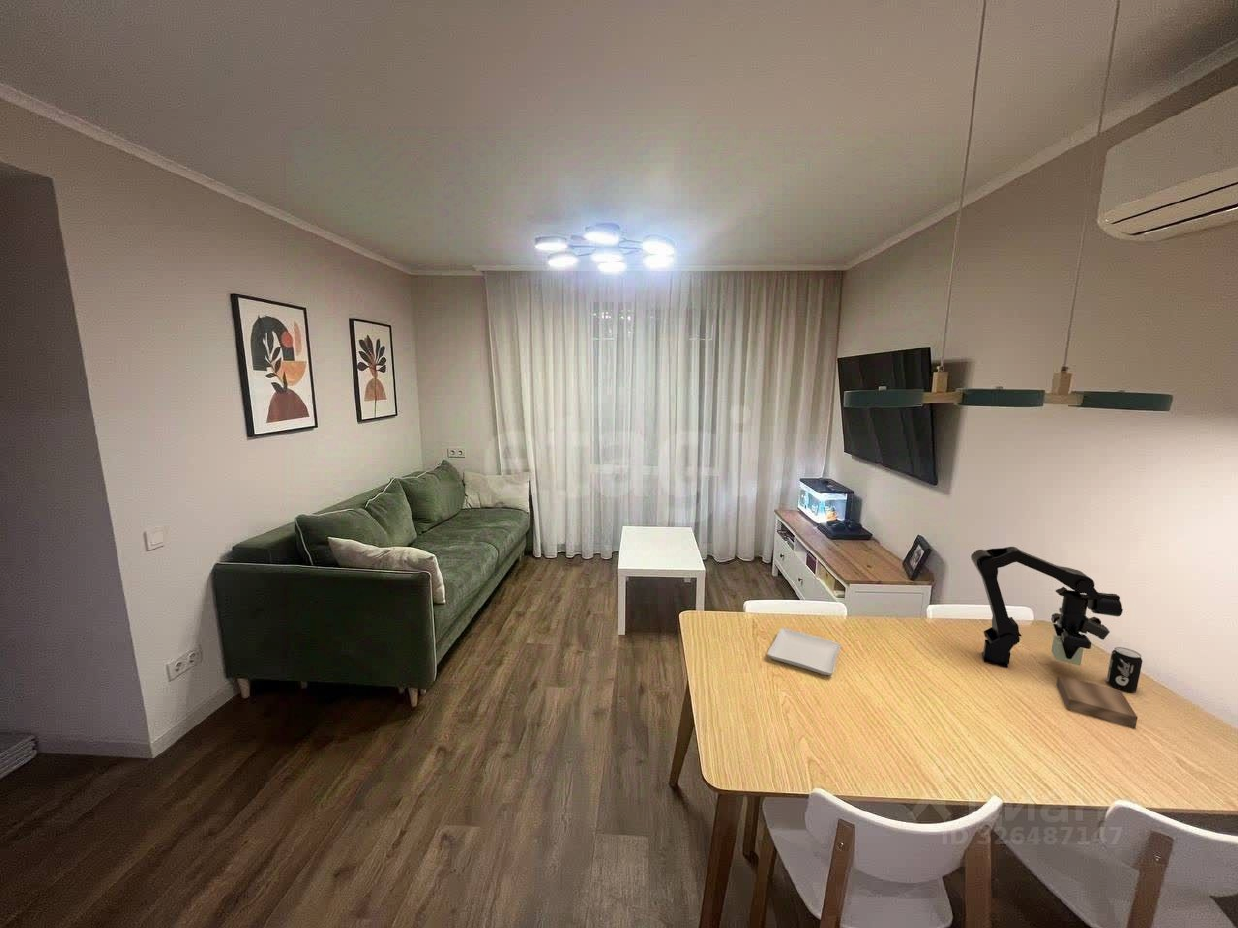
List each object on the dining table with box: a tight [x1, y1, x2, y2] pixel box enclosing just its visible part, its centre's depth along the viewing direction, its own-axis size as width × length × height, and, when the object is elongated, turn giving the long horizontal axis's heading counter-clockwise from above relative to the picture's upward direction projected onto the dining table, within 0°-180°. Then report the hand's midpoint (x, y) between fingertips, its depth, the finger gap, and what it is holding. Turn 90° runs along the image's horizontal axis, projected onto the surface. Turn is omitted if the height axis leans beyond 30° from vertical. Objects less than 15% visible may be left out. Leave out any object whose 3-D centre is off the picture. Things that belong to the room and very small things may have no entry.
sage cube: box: [1050, 634, 1084, 667], centre depth 153 cm, size 6×6×6 cm
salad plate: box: [766, 627, 842, 676], centre depth 164 cm, size 21×21×3 cm
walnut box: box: [1056, 674, 1139, 730], centre depth 139 cm, size 14×14×4 cm
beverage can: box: [1106, 646, 1143, 693], centre depth 147 cm, size 7×7×12 cm
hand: (1066, 653), depth 153 cm, fingers closed on sage cube, 6 cm apart
